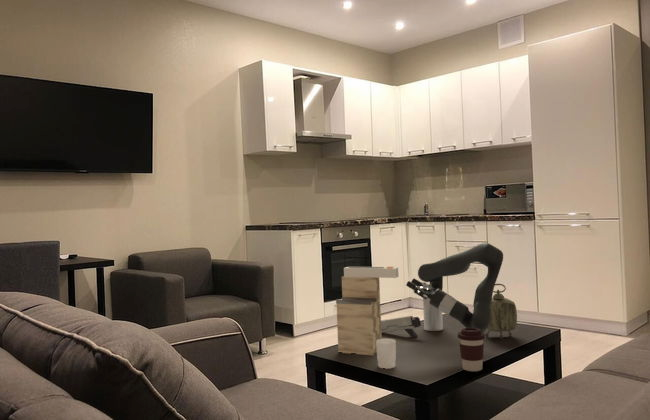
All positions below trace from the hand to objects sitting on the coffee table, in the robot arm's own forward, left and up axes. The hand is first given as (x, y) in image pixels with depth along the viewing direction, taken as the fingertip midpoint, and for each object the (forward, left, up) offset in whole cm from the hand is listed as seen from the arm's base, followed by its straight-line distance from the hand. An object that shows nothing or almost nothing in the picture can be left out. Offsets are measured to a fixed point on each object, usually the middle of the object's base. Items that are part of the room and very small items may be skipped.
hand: (409, 281), depth 227 cm
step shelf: (+4, -22, -30) cm, 38 cm away
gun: (-28, -15, -31) cm, 44 cm away
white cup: (+22, -4, -30) cm, 38 cm away
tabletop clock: (-35, +33, -30) cm, 56 cm away
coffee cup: (+16, +28, -30) cm, 44 cm away
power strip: (0, -17, +2) cm, 18 cm away
